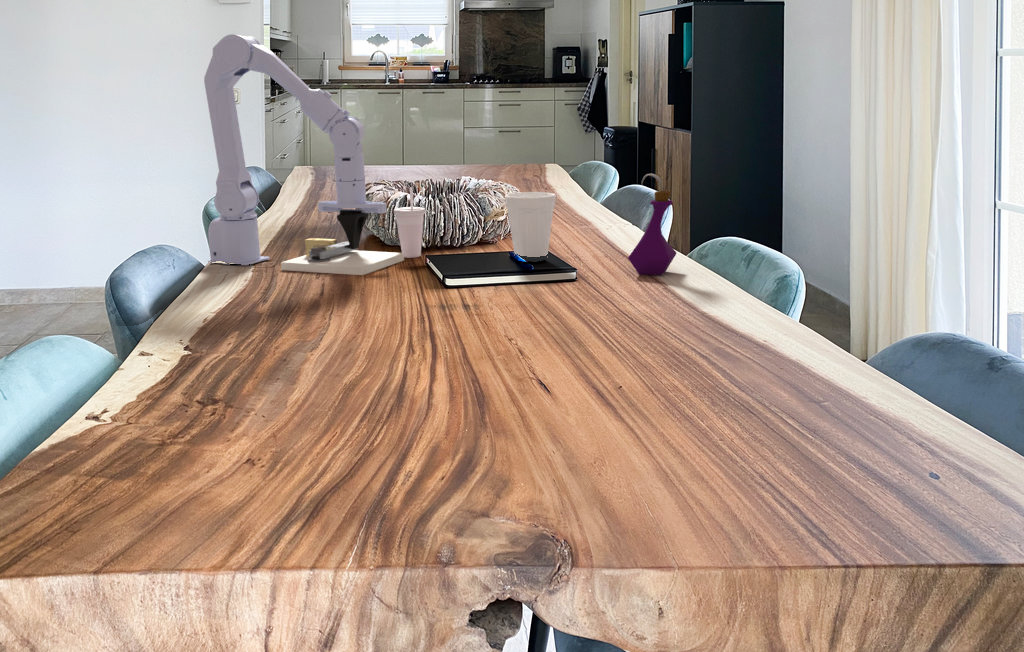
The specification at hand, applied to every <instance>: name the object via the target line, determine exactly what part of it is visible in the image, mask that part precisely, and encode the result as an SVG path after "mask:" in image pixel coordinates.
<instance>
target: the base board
mask: <svg viewBox="0 0 1024 652" xmlns="http://www.w3.org/2000/svg"><path fill="white" fill-rule="evenodd" d="M403 261H405V257H404V253H402V252H395V251H393V252H391V251H389V252H388V251H374V250H359V249H356V250H353V251H349V252H346V253H342V254H339V255H335V256H331V257H328V258H324V259H312V258H309V256H306V254H304V255H302V256H298V257H295V258H291V259H288V260H284V261H281V262H280V266H281V267H280V269H281V271H288V272H289V271H291V272H292V271H293V272H306V273H307V272H308V273H320V274H321V273H324V274H337V275H338V274H339V275H354V276H365V275H367V274H371V273H373V272H375V271H378V270H381V269H385V268H387V267H389V266H392V265H395V264H399V263H400V262H403Z"/></svg>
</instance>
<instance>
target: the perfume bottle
mask: <svg viewBox="0 0 1024 652" xmlns="http://www.w3.org/2000/svg"><path fill="white" fill-rule="evenodd" d="M648 176H650V177H653V178H654V179H656V180H657V181H658V183H659V184H660V187H661V190H657V191H655V192H654V194H653V196H654V199H652V200H650V205H652V208H653V211H652V215H651V218H650V221H649V223H648V225H647V227H646V229H645V232H644V234H643V235H642V236H641V238H640V240H639V241H638V242H637V244H636V246H635V247H634V248H633V250H632V252H631V253H630V254H629V255H628V258H627V259H628V260H629V262H630V263H631V265H632V267H633V268H634V269H635V271H636V272H637V274H638V275H643V276H663V275H664V274H665V273H666V272H667V270H668V268H669V267H670V265H671V263H672V262H673V260H674V259H675V257H676V256H677V251H676V250H675V249H674V248H673V247H672V246H671V245H670V243H669V242H668V241H667V240H666V238H665V237H664V235H663V234H662V222H663V218H664V215H665V212H666V211H667V210H668V208H669V207H670V206H672V205H673V204H674V202H673V200H671V199H670V197H671V196H670V195H671V193H672V192H671V191H670V190H665V189H664V188H663V183H662V180H661V178H660V177H659V176H658V175H656V174H654V173H646V174H645V175H644V176H643V178H642V180H641V182H640V183H641V185H643V183H644V180H645V179H646V178H647V177H648Z"/></svg>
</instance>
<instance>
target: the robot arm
mask: <svg viewBox="0 0 1024 652" xmlns="http://www.w3.org/2000/svg"><path fill="white" fill-rule="evenodd" d="M250 71H253V72H256V73H260V74H265V75H268V77H270V78H271V79H272V80H273V81H275V82H276V83H277V84H278V85H279V86H281V87H282V88H283V89H285V91H286V92H288V93H289V94H290V95H291V96H292V97H294V98H295V99H297V100H298V101H299V106H300V111H301V112H302V114H303V115H305V116H306V117H307V119H309V120H310V121H312V123H313V124H314V125H315V126H317V127H318V128H319V129H320V130H321V131H323V132H324V133H325V134H328V137H329V140H330V142H331V143H332V145H333V150H334V151H333V153H334V158H333V159H334V162H333V163H334V173H335V174H334V175H335V191H336V200H322V201H317V208H318V212H321V213H322V212H323V213H324V212H332V213H333V212H334V213H335V212H337V213H339V214H337V215H336V219H337V220H338V222H339V224H340V225H341V227H342V229H343V230H344V232H345V235H346V238H347V242H349V245H350V248H351V249H356V248H358V249H359V248H360V242H361V236H362V233H363V229H364V227H365V224H366V221H367V220H368V218H369V213H371V214H375V213H376V214H380V215H381V214H386V213H387V212H388V211H387V202H380V201H369V200H367V192H366V191H367V189H366V176H365V157H364V153H363V151H364V149H363V143H362V142H363V139H364V137H365V129H364V126H363V125H362V124H363V123H361V122H360V120H359V119H358V118H357V117H355V116H349V115H350V113H351V112H350V111H349V110H348V109H344V108H342V107H341V106H340V105H339V104H338V103H337V102H336V101H334V100H333V99H332V93H330V92H329V91H328V90H326V91H323V90H322V89H321V88H315V89H314V88H310V87H309V86H308V85H307V84H306V83H305V82H304V81H303V80H302V79H301V78H300V77H299V76H298V74H297V75H296V73H295V72H294V71H293V70H292V69H291V68H290V67H289V66H288V65H287V64H286V63H285V62H283V60H281V59H280V57H279V56H278V55H276V54H275V53H274V52H273V51H272V50H271V49H269V48H268V47H267V46H265V45H263V44H261V43H260V42H259V40H257V39H256V38H255V37H253V36H250V35H239V34H234V33H231V34H227V35H225V36H223V37H222V38H221V39H220V40H219V41H218V42H217V43H216V44H215V45H214V46H213V48H212V56H211V58H210V61H209V64H208V66H207V69H206V72H205V75H204V81H203V82H204V83H203V84H204V87H205V94H206V100H207V104H208V105H207V106H208V113H209V118H210V125H211V130H212V136H213V141H214V143H213V144H214V148H215V153H216V161H217V166H218V167H217V168H218V174H217V177H216V181H215V185H216V193H215V196H214V208H215V210H216V211H217V212H218V214H219V217H216V218H214V219H212V220H211V222H210V223H209V226H208V232H207V234H208V245H209V255H210V256H209V257H210V259H209V260H208V261H207V262H208V264H213V263H212V262H216V261H222V262H225V263H234V264H241V265H240V266H250V265H253V264H256V263H260V262H265V261H266V260H270V256H263V255H261V251H260V250H261V248H260V238H259V237H260V236H259V224H258V214H257V213H256V211H255V209H256V208H257V206H258V204H259V202H260V201H259V200H260V195H259V192H258V190H257V189H256V187H255V186H254V184H253V181H252V175H251V174H250V172H249V171H248V169H247V167H246V162H245V161H246V160H245V154H244V149H243V142H242V141H243V140H242V136H241V129H240V128H241V127H240V124H239V123H240V122H239V118H238V110H237V103H236V97H235V92H234V87H235V85H236V84H237V83H238V82H239V81H240V79H241V78H242V77H243V76H244V74H247V73H248V72H250ZM356 250H357V249H356ZM210 261H211V262H210ZM209 262H210V263H209ZM249 264H250V265H249Z"/></svg>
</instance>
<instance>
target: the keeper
mask: <svg viewBox="0 0 1024 652" xmlns="http://www.w3.org/2000/svg"><path fill="white" fill-rule="evenodd" d="M304 244H305V255H306V256H309V251H311V248H313V247H320V246H331V245H335V244H337V239H336V238H335V239H333V238H319V237H318V238H317V237H316V238H315V237H310V238H305V239H304Z"/></svg>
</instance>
